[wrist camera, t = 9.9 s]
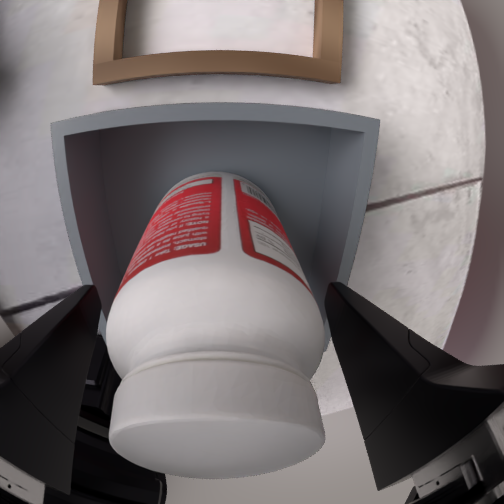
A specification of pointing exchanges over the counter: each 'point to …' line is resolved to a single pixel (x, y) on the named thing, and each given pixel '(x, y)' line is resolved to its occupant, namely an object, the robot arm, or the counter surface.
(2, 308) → the counter surface
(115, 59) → the wooden frame
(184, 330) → the pill bottle
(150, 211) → the bin
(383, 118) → the counter surface
